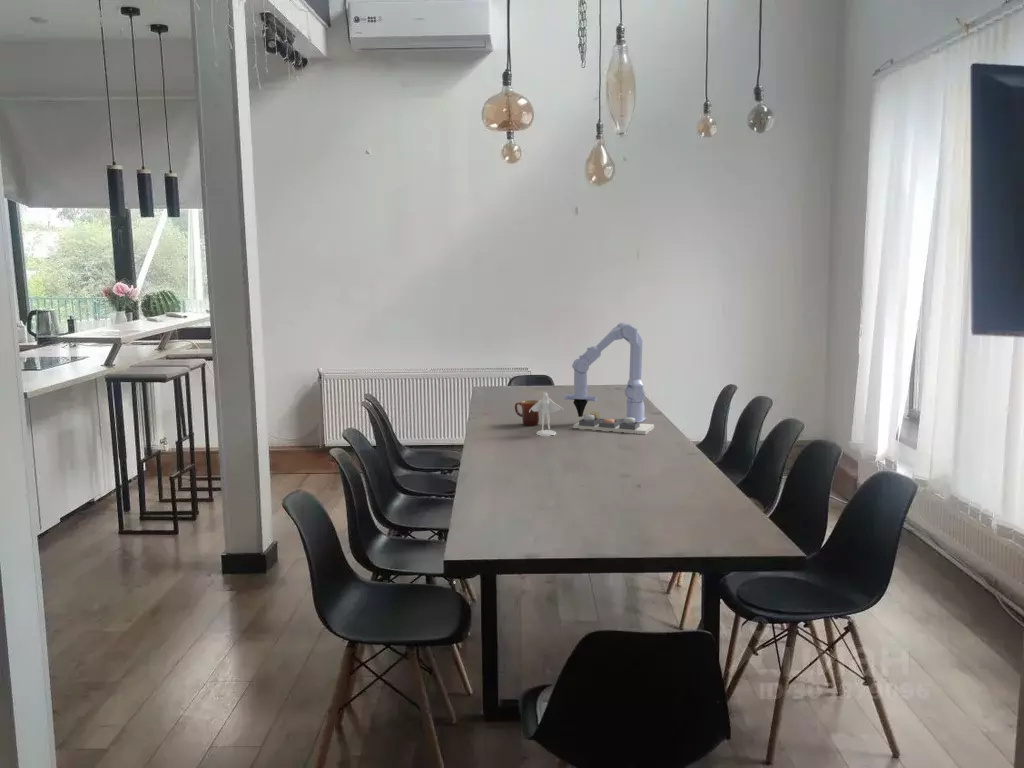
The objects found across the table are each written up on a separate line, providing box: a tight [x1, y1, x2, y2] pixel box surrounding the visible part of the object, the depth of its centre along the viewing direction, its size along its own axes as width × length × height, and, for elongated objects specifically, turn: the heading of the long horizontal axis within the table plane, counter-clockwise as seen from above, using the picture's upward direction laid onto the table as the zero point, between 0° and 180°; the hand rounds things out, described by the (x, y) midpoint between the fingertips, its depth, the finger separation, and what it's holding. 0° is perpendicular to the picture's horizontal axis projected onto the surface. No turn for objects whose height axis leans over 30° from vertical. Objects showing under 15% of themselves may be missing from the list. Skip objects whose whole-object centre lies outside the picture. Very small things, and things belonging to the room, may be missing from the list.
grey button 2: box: [623, 416, 635, 425], centre depth 340 cm, size 5×5×2 cm
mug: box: [514, 399, 540, 427], centre depth 357 cm, size 12×9×10 cm
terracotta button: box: [603, 418, 616, 423], centre depth 344 cm, size 5×5×2 cm
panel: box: [572, 417, 655, 435], centre depth 347 cm, size 14×32×4 cm, turn 65°
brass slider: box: [589, 411, 600, 419], centre depth 354 cm, size 4×3×4 cm
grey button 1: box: [583, 413, 595, 422], centre depth 348 cm, size 5×5×2 cm
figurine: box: [529, 391, 565, 437], centre depth 338 cm, size 14×11×18 cm
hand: (580, 416), depth 357 cm, fingers closed
